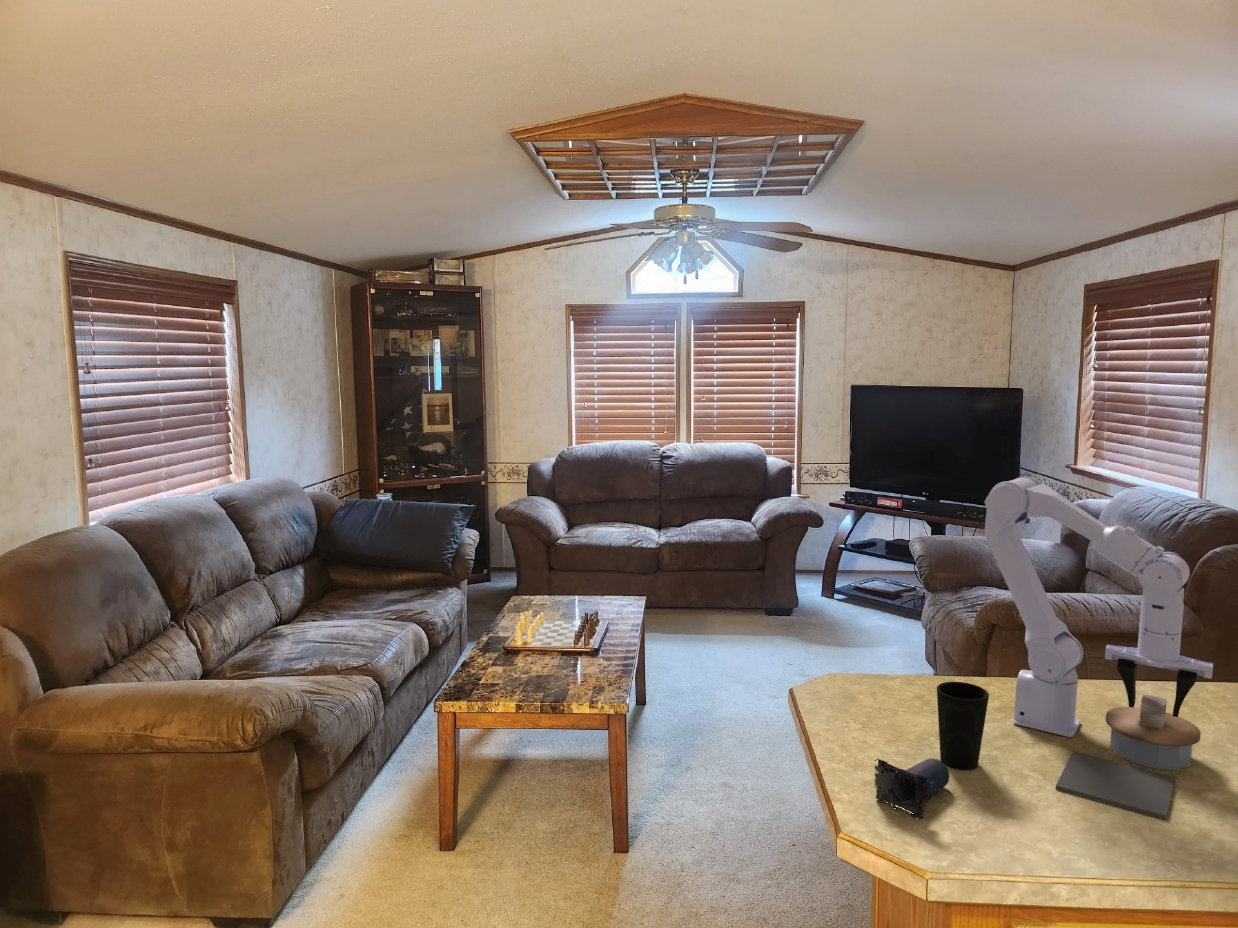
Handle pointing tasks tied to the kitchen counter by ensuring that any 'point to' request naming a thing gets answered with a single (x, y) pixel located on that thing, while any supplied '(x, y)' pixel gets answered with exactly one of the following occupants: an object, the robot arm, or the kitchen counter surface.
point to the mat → (1117, 784)
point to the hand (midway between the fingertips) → (1153, 709)
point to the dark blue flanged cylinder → (910, 784)
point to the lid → (1153, 724)
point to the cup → (961, 723)
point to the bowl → (1150, 752)
